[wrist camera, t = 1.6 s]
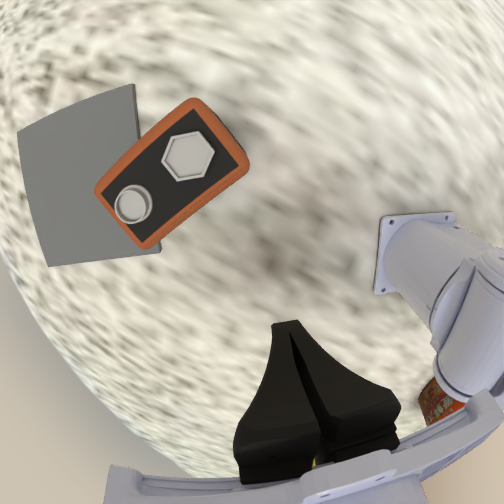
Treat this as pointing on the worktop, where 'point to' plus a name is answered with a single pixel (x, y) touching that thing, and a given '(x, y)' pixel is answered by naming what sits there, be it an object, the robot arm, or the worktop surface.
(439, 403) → the food container
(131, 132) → the mat
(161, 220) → the battery
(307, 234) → the worktop surface
